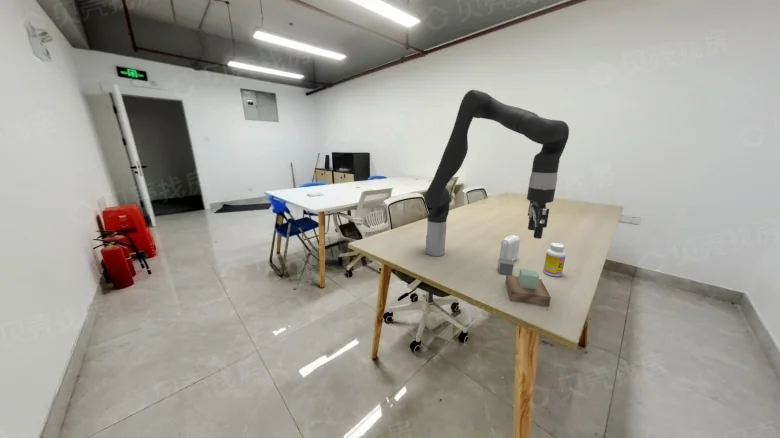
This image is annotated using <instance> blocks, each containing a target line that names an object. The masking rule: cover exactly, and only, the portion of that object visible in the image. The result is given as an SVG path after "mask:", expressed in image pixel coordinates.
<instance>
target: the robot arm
mask: <svg viewBox="0 0 780 438" xmlns="http://www.w3.org/2000/svg"><path fill="white" fill-rule="evenodd" d="M474 118H475V119H483V120H484V119H485V120H491V121H494V122H497V123H499V124H500V125H501V126H503V127H504V128H506V129H507V130H510V131H513V132H515V133H517V134H520V135H523V136H524V137H526V138H527V139H529V140H530V141H532V142H534V143H535V144H539V145H542V147H541V150H540V152H538V153H536V154H535V155H534V157H533V160H532V165H531V166H532V168H531V173H530V177H529V181H528V187H527V189H528V190H527V195H526V200H527V201H529V205H528V212H527V216H528V226H527V229H528V230H529V231H534V232H533V238H534V239H539V240H540V239H542V238H543V230H544V229H545V228H547V226H548V221H549V220H548V219H549V214H550V208H547V207H546V206H547V204H548V203H553V202H554V199H555V193H556V190H557V189H556V187H557V183H558V172H559V166H560V159H561V156H562V155H563V153H564V150H565V147H566V145H567V142H568V140H569V135H570V127H569V125H568V124H567V122H565V121H563V120H556V119H549V118H544V117H541V116H539V115H538V114H537V113H535V112H532V111H530V110H527V109H524V108H521V107H517V106H512V105H509V104H505V103H503V102H501V101H499V100H497V99H496V98H494V97H493V96H492V95H490V94H488V93H487V92H483V91H480V90H477V89H470V90H469V91H466V93H465V94H464V96H463V98H462V100H461V102H460V105H459V108H458V111H457V115H456V118H455V122H454V125H453V128H452V131H451V132H450V133H451V134H450V136H449V139H448V142H447V144H446V145H445V146H446V147H445V149H444V151H443V154H442V157H441V159H440V162H439V164H438V167H437V169H436V172H435V174H434V177H433V178H432V180H431V183H430V184H429V185H428V186H429V187H428V188H427V190H426V192H425V194H424V195H425V196H424V202H425V205H426V206H427V207H428V208H431V210H430V211H429V213H428V214H427V222H426V223H427V224H426V225H427V226H426V237H425V254H426V255H429V256H433V257H441V256H442V257H443V255H445V254H446V240H447V239H446V238H447V220H448V217H449V216H448V215H449V213H450V204H451V196H450V191H449V190H448V189H447V185H448V184H449V182H450V181H451V180H452V179H453V177H455V175H456V174H457V172H458V171H459V170H460V168H461V167H462V165H463V163H464V161H465V158H466V157H467V153H468V148H469V144H468V142H469V141H468V133H469V128H470V126H471V123H472V121H473V119H474Z"/></svg>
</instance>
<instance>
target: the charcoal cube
mask: <svg viewBox="0 0 780 438" xmlns="http://www.w3.org/2000/svg"><path fill="white" fill-rule="evenodd" d="M497 270H498V275H505V276H506V275H510V276H513V270H514V261H513V262H512V260H511V259H502V258H500V257H499V258H498V264H497Z"/></svg>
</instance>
